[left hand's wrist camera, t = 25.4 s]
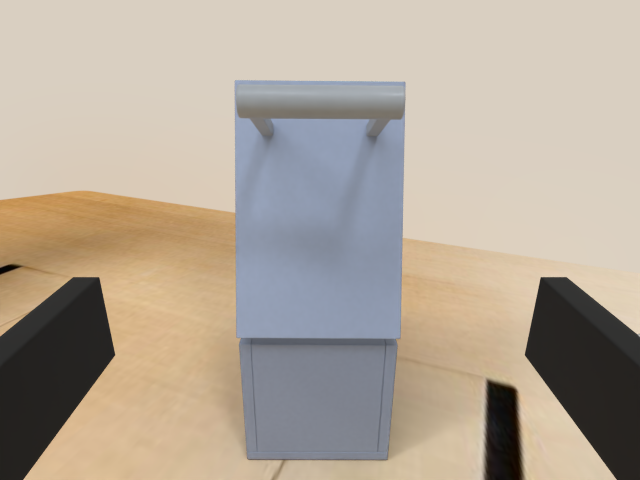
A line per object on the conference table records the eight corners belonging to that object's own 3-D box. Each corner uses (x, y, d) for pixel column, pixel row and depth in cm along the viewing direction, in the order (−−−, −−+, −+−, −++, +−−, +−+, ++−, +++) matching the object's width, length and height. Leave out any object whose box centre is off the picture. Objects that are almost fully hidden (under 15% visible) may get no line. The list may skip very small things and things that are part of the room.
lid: (238, 86, 26) (201, 27, 18) (401, 87, 26) (440, 29, 18) (239, 332, 27) (205, 385, 19) (396, 333, 27) (431, 386, 19)
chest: (269, 341, 43) (265, 253, 40) (366, 341, 43) (371, 254, 40) (247, 459, 30) (238, 344, 26) (387, 460, 30) (397, 345, 26)
